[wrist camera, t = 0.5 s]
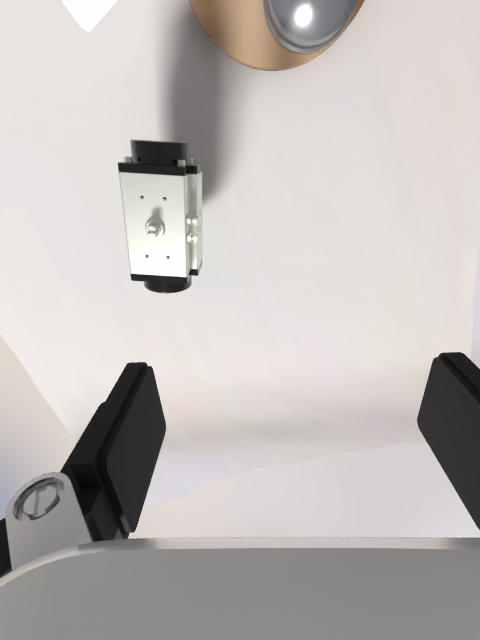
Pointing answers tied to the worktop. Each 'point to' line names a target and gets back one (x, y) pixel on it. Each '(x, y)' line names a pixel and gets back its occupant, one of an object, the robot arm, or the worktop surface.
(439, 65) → the worktop surface
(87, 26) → the white switch plate
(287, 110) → the worktop surface
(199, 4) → the turntable
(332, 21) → the cover
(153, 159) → the pneumatic valve
